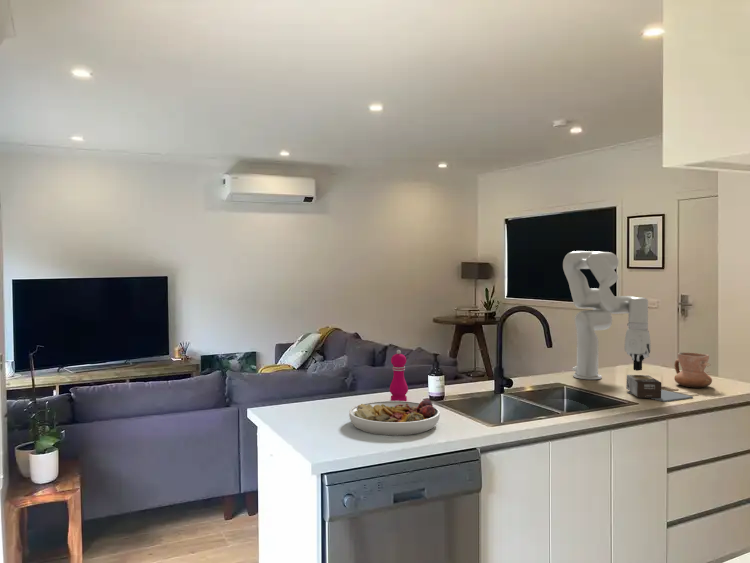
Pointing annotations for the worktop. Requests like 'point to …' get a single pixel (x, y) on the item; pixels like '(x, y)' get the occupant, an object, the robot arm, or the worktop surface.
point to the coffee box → (644, 386)
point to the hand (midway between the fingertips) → (637, 370)
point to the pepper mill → (398, 378)
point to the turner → (678, 391)
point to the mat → (669, 396)
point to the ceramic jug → (692, 370)
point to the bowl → (395, 417)
